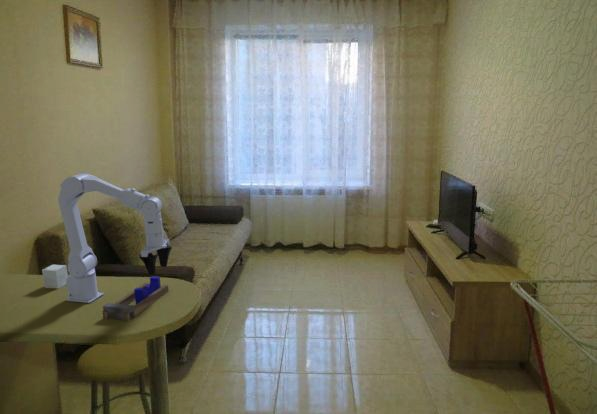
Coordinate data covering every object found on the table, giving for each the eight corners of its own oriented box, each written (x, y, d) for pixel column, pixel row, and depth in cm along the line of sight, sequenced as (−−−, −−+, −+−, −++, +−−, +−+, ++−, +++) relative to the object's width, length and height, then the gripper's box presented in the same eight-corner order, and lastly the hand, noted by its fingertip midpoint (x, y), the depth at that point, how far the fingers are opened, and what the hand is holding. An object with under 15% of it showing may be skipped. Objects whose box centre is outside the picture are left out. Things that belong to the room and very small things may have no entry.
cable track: (103, 318, 148) (101, 306, 147) (145, 289, 171) (144, 279, 170) (129, 321, 146) (127, 309, 145) (168, 291, 168) (167, 280, 168)
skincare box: (69, 283, 179) (66, 264, 178) (58, 289, 174) (55, 270, 172) (55, 282, 181) (53, 264, 179) (44, 288, 175) (41, 269, 173)
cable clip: (149, 291, 169) (148, 276, 168) (161, 292, 168) (159, 276, 167) (131, 305, 158) (130, 289, 156) (144, 306, 157) (142, 289, 156)
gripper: (152, 239, 151) (156, 278, 154) (175, 227, 165) (178, 263, 168) (133, 238, 153) (138, 277, 156) (158, 226, 167) (161, 262, 170)
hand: (157, 270), depth 162 cm, fingers open, 7 cm apart
